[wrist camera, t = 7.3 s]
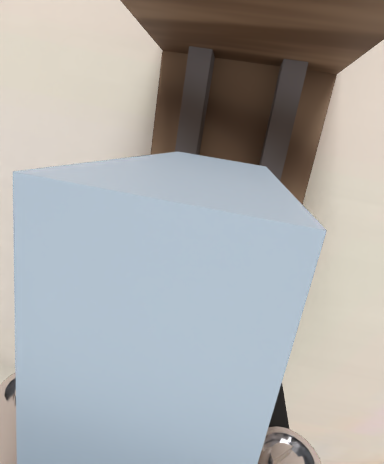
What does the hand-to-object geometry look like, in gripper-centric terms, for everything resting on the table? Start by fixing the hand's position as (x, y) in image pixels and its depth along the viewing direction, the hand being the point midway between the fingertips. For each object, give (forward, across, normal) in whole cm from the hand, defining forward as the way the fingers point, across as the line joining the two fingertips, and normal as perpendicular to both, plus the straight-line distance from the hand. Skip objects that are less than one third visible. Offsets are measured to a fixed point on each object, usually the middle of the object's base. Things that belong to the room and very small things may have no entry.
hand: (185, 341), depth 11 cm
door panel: (+2, 0, 0) cm, 2 cm away
